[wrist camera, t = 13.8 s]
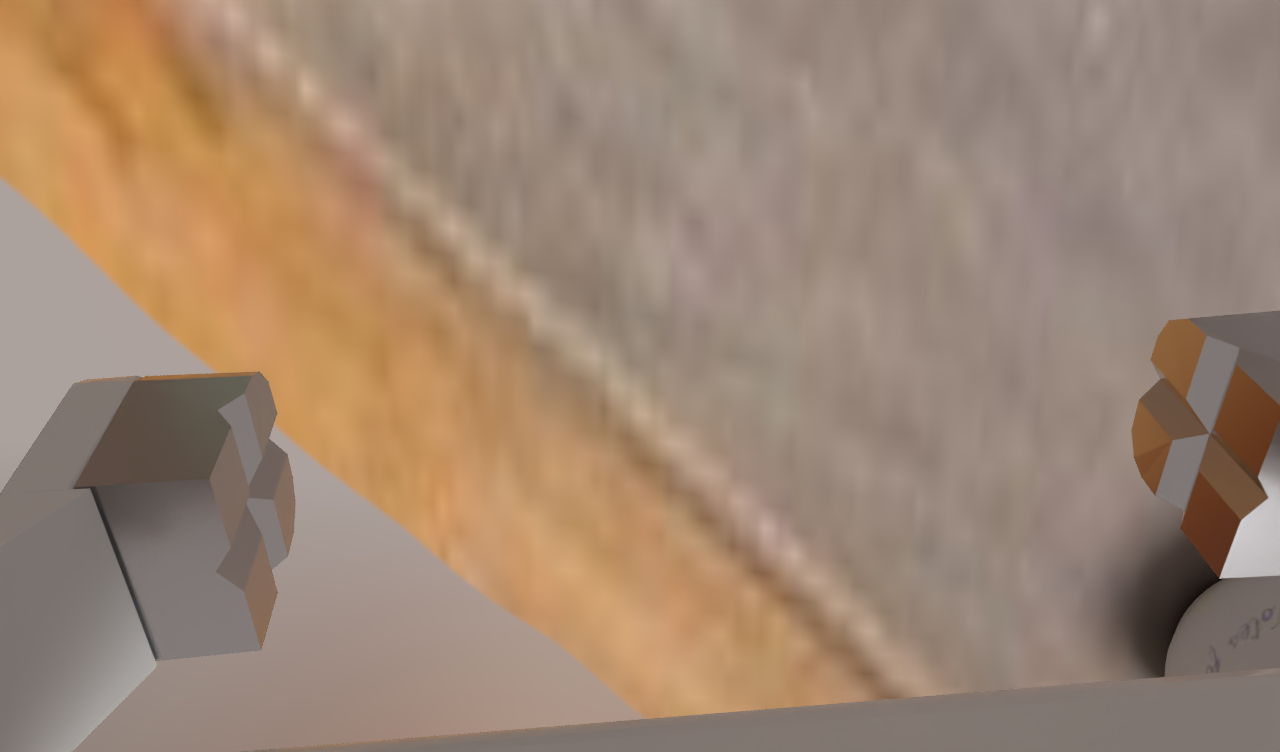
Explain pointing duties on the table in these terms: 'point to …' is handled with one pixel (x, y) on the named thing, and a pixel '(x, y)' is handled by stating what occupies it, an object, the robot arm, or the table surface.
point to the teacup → (1229, 629)
